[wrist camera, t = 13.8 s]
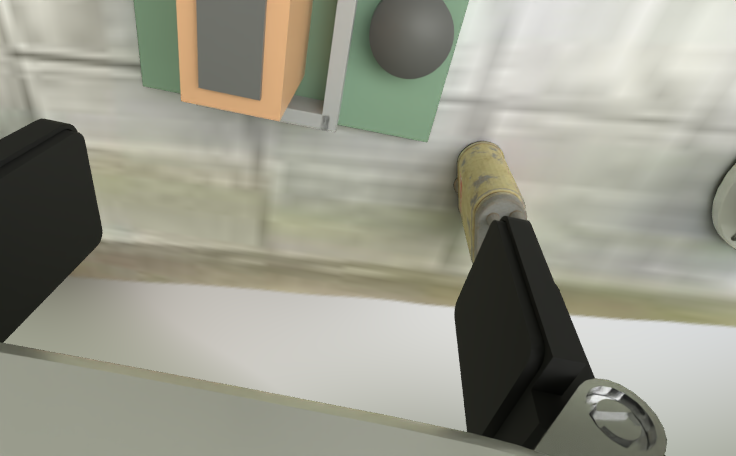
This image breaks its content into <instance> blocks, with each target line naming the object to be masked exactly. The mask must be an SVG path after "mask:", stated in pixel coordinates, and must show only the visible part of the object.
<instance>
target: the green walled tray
mask: <svg viewBox="0 0 736 456" xmlns="http://www.w3.org/2000/svg"><path fill="white" fill-rule="evenodd" d="M468 2H469V0H313V5H312V14H311V23H310V31H309V40H308V49H307V57H306V66H305V75H304V77H303V79H302V81H301V83H300V84H299V86H298V88H297V90H296V92H295V94H294V96H293V97H292V99H291V101H290V103H289V105H288V107H287V109H286V110H285V112H284V114H283V116H282V118H281V120H280V122H285V123H290V124H295V125H300V126H305V127H310V128H315V129H321V130H326V131H331V132H336V128H337V125H342V126H347V127H352V128H357V129H362V130H367V131H372V132H377V133H383V134H388V135H393V136H398V137H403V138H408V139H413V140H418V141H423V142H428V138H429V135H430V132H431V128H432V125H433V121H434V118H435V115H436V111H437V108H438V104H439V101H440V98H441V94H442V91H443V87H444V84H445V80H446V77H447V74H448V70H449V67H450V63H451V60H452V57H453V53H454V50H455V46H456V43H457V40H458V36H459V33H460V29H461V26H462V23H463V19H464V16H465V12H466V9H467V5H468ZM134 9H135V18H136V27H137V36H138V45H139V55H140V64H141V73H142V82H143V86H145V87H150V88H155V89H160V90H165V91H170V92H175V93H180V94H181V90H180V70H179V50H178V30H177V10H176V0H134ZM196 105H197V104H196ZM198 106H202V105H198ZM203 107H207V106H203ZM208 108H212V107H208ZM214 109H217V108H214ZM219 110H222V109H219ZM224 111H227V110H224ZM229 112H232V111H229ZM234 113H236V112H234ZM239 114H241V113H239ZM244 115H246V114H244ZM249 116H251V115H249ZM254 117H256V116H254ZM259 118H261V117H259ZM265 119H266V118H265ZM270 120H271V119H270Z"/></svg>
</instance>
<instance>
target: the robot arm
mask: <svg viewBox="0 0 736 456" xmlns="http://www.w3.org/2000/svg"><path fill="white" fill-rule="evenodd" d="M712 219H713V225H714V227H715V229H716V231H717V233H718V234H719V235H720V236H721V237H722V238H723V239H724V240H725V241H726V243H727V244H729V245H730V246H731V247H733V248H734V249H735V250H736V163H735V165H734V166H733V167H732V168H731V169H730V171H729V172H728V173H727V174H726V176H725V177H724V179H723V181H722V183H721V184H720V186H719V188H718V190H717V193H716V195H715V198H714V201H713V207H712ZM101 238H102V226H101V220H100V215H99V210H98V205H97V200H96V195H95V190H94V185H93V180H92V175H91V170H90V165H89V159H88V154H87V149H86V144H85V140H84V137H83V136H82V134H80V133H78V132H77V130H76V128H75V127H74V126H73V125H71V124H67V123H62V122H57V121H53V120H48V119H39V120H36V121H35V122H33V123H31V124H29V125H27V126H25V127H23V128H21V129H19V130H17V131H16V132H14V133H12V134H10V135H8V136H6V137H4V138H2V139H0V456H665V455H664V454H665V452H666V445H667V438H666V435H665V431H664V428H663V426H662V424H661V422H660V421H659V419H658V417H657V416H656V414H655V413H654V412H653V411H652V409H651V408H650V407H649V406H648V405H647V404H646V402H644V401H643V400H642V399H641V398H640V397H638V396H637V395H636V394H635V393H633V392H632V391H630V390H628V389H627V388H625V387H623V386H622V385H620V384H617V383H614V382H612V381H609V380H604V379H596V378H595V377H594V375H593V372H592V370H591V368H590V365H589V362H588V360H587V358H586V355H585V353H584V351H583V348H582V345H581V343H580V340H579V338H578V335H577V333H576V330H575V328H574V325H573V323H572V321H571V318H570V315H569V313H568V310H567V308H566V306H565V303H564V301H563V298H562V296H561V293H560V291H559V289H558V287H557V285H556V284H555V283H554V280H553V278H552V275H551V273H550V270H549V268H548V265H547V263H546V260H545V258H544V255H543V253H542V250H541V248H540V245H539V243H538V240H537V238H536V235H535V233H534V230H533V228H532V225H531V223H530V222H529V221H528V220H523V219H519V218H514V217H509V216H503V217H502V218H501V219H500V221H498V220H493V221H492V222H491V224H490V226H489V229H488V231H487V233H486V235H485V238H484V240H483V242H482V245H481V247H480V249H479V251H478V254H477V256H476V258H475V261H474V263H473V265H472V268H471V270H470V272H469V274H468V277H467V279H466V281H465V284H464V286H463V288H462V291H461V293H460V295H459V297H458V300H457V302H456V306H455V325H456V335H457V343H458V353H459V362H460V371H461V380H462V389H463V397H464V407H465V416H466V425H467V432H464V431H459V430H455V429H449V428H445V427H440V426H435V425H430V424H426V423H421V422H416V421H411V420H407V419H402V418H397V417H393V416H387V415H383V414H378V413H372V412H367V411H362V410H357V409H352V408H346V407H341V406H336V405H331V404H326V403H320V402H315V401H310V400H305V399H299V398H295V397H289V396H284V395H279V394H274V393H269V392H263V391H258V390H253V389H248V388H243V387H237V386H232V385H227V384H221V383H216V382H210V381H206V380H200V379H195V378H190V377H184V376H179V375H174V374H168V373H163V372H158V371H152V370H147V369H142V368H136V367H131V366H126V365H120V364H115V363H110V362H104V361H98V360H94V359H88V358H83V357H77V356H72V355H66V354H61V353H55V352H50V351H44V350H39V349H34V348H28V347H23V346H16V345H11V344H6V343H3V342H4V341H5V340H6V339H7V338H8V337H9V336H10V335H11V334H12V333H13V332H14V331H15V330H16V329H17V328H18V326H20V325H21V324H22V323H23V322H24V321H25V319H26V318H27V317H28V316H29V315H30V314H31V313H32V312H33V311H34V310H35V309H36V308H37V307H38V306H39V305H40V304H41V303H42V302H43V301H44V300H45V299H46V298H47V297H48V296H49V295H50V294H51V293H52V292H53V291H54V290H55V289H56V288H57V287H58V285H60V284H61V283H62V282H63V281H64V279H65V278H66V277H67V276H68V275H69V274H70V273H71V272H72V271H73V270H74V269H75V268H76V267H77V266H78V265H79V264H80V263H81V262H82V261H83V260H84V259H85V258H86V257H87V256H88V255H89V254H90V253H91V252H92V251H93V250H94V249H95V248H96V247H97V245H98V244H99V243H100V241H101Z"/></svg>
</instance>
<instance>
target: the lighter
mask: <svg viewBox="0 0 736 456" xmlns="http://www.w3.org/2000/svg"><path fill="white" fill-rule="evenodd" d="M457 170H458V178H457V179H456V180H455V182H454V189H455V191H456V192H457V193H458V209H459V212H460V214H461V218H462V222H463V227H464V231H465V235H466V239H467V244H468V248H469V252H470V256H471V260H472V263H474V261H475V258H476V256H477V254H478V251H479V249H480V247H481V245H482V242H483V240H484V238H485V235H486V233H487V231H488V229H489V226H490V224H491V222H492V221H493V220H498V221H500V219H501V218H502V217H503V216H509V217H514V218H519V219H523V220H527V214H526V211H525V202H524V200H523V198H522V196H521V193H520V191H519V189H518V187H517V185H516V183H515V181H514V178H513V176H512V174H511V172H510V170H509V168H508V166H507V163H506V161H505V158H504V155H503V152H502V151H501V149H500V148H499V147H498V146H497V145H495V144H493V143H491V142H486V141H481V142H476V143H473V144H471V145H469V146H468V147H466V148H465V149H464V150H463V151H462V153H461V154H460V156H459V158H458V161H457Z"/></svg>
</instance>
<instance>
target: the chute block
mask: <svg viewBox="0 0 736 456" xmlns="http://www.w3.org/2000/svg"><path fill="white" fill-rule="evenodd" d="M312 5H313V0H176V10H177V30H178V50H179V70H180V90H181V101H183V102H188V103H193V104H197V105H202V106H207V107H212V108H217V109H222V110H227V111H232V112H236V113H241V114H246V115H251V116H256V117H261V118H266V119H271V120H275V121H280V120H281V118H282V116H283V114H284V112H285V110H286V109H287V107H288V105H289V103H290V101H291V99H292V97H293V96H294V94H295V92H296V90H297V88H298V86H299V84H300V83H301V81H302V79H303V77H304V75H305V66H306V57H307V49H308V40H309V31H310V23H311V14H312Z"/></svg>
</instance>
